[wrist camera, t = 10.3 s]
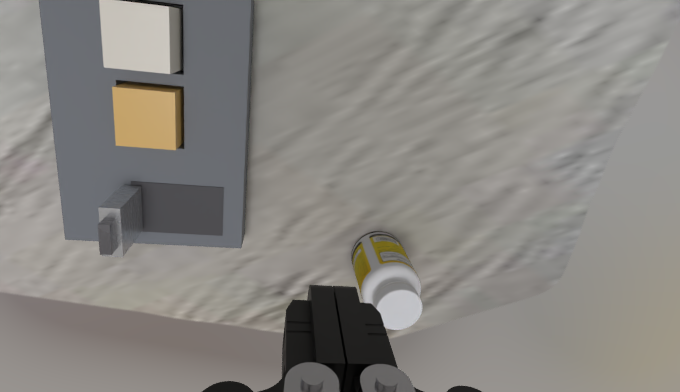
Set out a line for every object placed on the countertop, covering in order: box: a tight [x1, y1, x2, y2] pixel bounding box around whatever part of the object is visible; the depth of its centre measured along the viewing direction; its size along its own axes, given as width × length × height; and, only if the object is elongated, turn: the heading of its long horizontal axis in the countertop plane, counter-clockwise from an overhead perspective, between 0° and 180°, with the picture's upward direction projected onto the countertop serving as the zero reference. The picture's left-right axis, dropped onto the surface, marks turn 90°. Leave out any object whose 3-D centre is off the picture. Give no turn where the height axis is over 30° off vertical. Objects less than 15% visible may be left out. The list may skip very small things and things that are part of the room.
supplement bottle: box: [352, 232, 422, 330], centre depth 41 cm, size 5×5×10 cm
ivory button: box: [99, 0, 183, 74], centre depth 33 cm, size 4×4×4 cm
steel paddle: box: [98, 185, 143, 257], centre depth 35 cm, size 4×2×6 cm, turn 174°
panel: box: [39, 0, 254, 248], centre depth 37 cm, size 21×15×3 cm
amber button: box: [112, 81, 184, 150], centre depth 36 cm, size 4×4×4 cm
